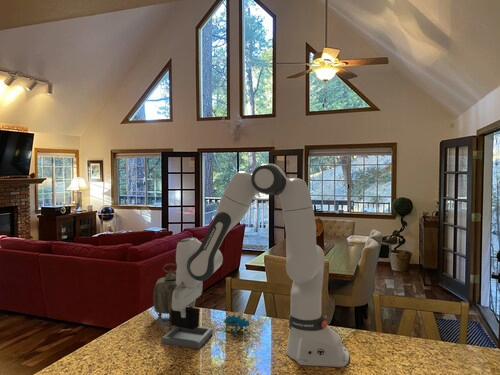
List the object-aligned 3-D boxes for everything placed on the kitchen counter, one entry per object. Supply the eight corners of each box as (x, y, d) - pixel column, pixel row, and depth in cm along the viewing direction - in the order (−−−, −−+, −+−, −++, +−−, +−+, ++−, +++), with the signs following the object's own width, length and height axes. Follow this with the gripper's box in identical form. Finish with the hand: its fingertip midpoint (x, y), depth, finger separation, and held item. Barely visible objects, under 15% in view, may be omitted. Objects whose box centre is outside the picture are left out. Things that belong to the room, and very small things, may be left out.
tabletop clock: (188, 314, 173) (187, 260, 172) (186, 322, 164) (185, 266, 163) (156, 315, 172) (155, 261, 171) (152, 323, 163) (151, 266, 162)
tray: (212, 334, 153) (212, 328, 153) (198, 349, 140) (198, 342, 140) (178, 329, 157) (178, 323, 157) (161, 343, 144) (161, 337, 144)
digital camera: (200, 326, 147) (201, 308, 148) (192, 329, 143) (193, 311, 143) (179, 321, 152) (180, 304, 152) (170, 325, 147) (171, 307, 148)
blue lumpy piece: (253, 324, 158) (244, 314, 152) (250, 338, 154) (240, 328, 148) (230, 324, 163) (220, 313, 156) (227, 337, 159) (216, 327, 152)
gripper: (182, 288, 136) (183, 325, 137) (205, 273, 156) (205, 305, 157) (167, 286, 138) (167, 323, 139) (191, 271, 158) (191, 304, 158)
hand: (187, 314), depth 148 cm, fingers closed on digital camera, 5 cm apart
